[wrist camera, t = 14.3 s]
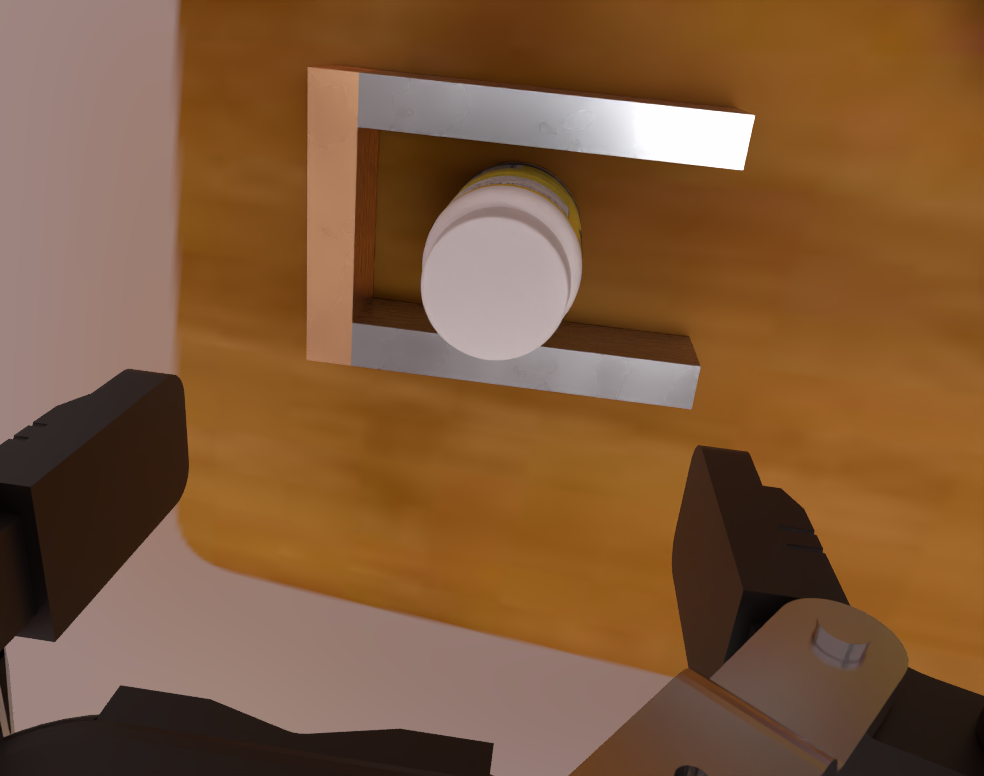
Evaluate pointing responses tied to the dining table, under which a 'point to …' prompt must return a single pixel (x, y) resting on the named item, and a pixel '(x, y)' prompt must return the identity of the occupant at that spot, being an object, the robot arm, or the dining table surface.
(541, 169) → the supplement bottle
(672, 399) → the frame
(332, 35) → the dining table surface
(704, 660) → the robot arm
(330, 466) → the dining table surface
